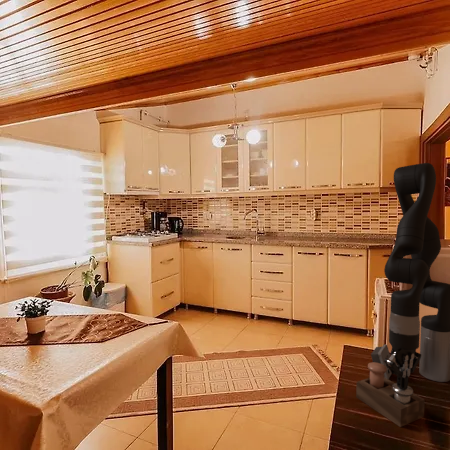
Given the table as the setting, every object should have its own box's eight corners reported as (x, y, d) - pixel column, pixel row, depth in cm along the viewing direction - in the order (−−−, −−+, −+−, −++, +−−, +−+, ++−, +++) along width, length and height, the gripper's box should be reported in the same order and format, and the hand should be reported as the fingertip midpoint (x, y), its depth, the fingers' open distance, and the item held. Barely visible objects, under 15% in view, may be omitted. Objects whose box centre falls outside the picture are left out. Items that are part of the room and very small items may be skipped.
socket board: (378, 389, 105) (379, 374, 105) (424, 416, 92) (424, 399, 91) (356, 397, 101) (356, 381, 101) (400, 427, 87) (400, 409, 87)
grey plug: (399, 406, 96) (400, 381, 95) (416, 416, 91) (417, 390, 91) (387, 411, 94) (388, 385, 93) (404, 421, 89) (404, 395, 88)
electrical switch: (388, 381, 110) (385, 354, 110) (372, 377, 113) (369, 351, 113) (394, 370, 117) (392, 344, 117) (378, 367, 121) (376, 342, 121)
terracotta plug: (375, 384, 103) (375, 361, 103) (389, 392, 99) (390, 368, 98) (363, 388, 101) (364, 364, 101) (377, 397, 96) (378, 372, 96)
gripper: (407, 320, 97) (405, 376, 98) (376, 327, 91) (374, 387, 93) (432, 329, 90) (430, 389, 91) (400, 337, 85) (398, 401, 86)
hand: (402, 388), depth 92 cm, fingers closed
